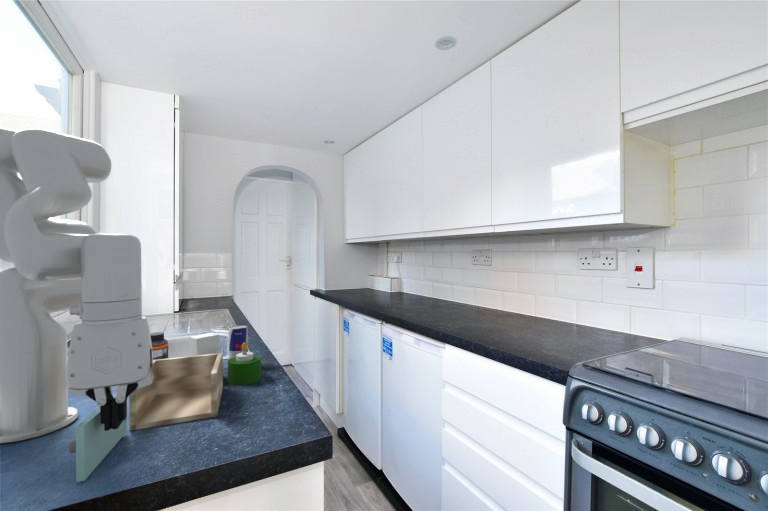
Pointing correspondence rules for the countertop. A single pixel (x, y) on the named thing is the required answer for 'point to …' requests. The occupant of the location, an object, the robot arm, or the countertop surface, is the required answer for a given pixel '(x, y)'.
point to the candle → (244, 368)
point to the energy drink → (237, 339)
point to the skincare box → (204, 344)
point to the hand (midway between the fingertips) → (114, 425)
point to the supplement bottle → (159, 346)
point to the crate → (178, 391)
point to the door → (93, 443)
